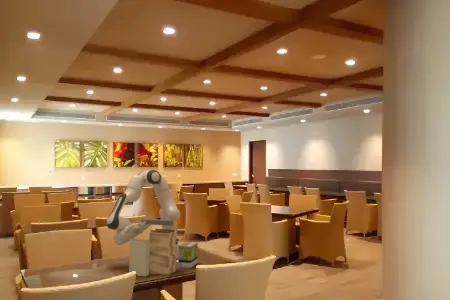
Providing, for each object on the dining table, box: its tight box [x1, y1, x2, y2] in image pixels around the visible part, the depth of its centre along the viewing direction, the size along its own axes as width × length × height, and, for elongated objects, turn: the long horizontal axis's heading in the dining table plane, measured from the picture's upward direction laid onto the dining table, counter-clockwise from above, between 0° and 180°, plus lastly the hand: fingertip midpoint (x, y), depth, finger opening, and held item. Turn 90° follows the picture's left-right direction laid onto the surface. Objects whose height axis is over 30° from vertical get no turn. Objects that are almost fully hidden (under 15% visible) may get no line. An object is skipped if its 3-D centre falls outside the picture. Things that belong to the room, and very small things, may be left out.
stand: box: [148, 228, 177, 276], centre depth 267 cm, size 10×14×28 cm
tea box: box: [177, 241, 199, 269], centre depth 285 cm, size 15×10×15 cm, turn 168°
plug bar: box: [141, 218, 173, 226], centre depth 269 cm, size 3×22×3 cm, turn 68°
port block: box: [128, 238, 150, 277], centre depth 260 cm, size 4×12×22 cm, turn 68°
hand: (148, 221), depth 272 cm, fingers closed on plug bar, 3 cm apart
